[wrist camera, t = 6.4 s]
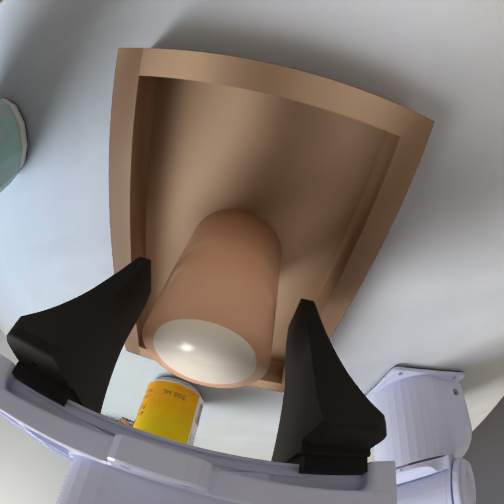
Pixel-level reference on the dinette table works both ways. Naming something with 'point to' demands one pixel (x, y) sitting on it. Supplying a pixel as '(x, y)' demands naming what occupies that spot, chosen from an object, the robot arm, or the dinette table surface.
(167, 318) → the tan and white cylinder
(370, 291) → the dinette table surface
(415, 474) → the robot arm
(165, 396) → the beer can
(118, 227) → the tray
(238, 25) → the dinette table surface
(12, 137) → the disposable coffee cup
